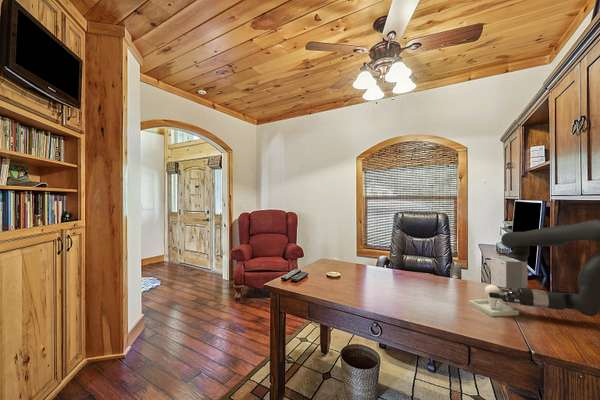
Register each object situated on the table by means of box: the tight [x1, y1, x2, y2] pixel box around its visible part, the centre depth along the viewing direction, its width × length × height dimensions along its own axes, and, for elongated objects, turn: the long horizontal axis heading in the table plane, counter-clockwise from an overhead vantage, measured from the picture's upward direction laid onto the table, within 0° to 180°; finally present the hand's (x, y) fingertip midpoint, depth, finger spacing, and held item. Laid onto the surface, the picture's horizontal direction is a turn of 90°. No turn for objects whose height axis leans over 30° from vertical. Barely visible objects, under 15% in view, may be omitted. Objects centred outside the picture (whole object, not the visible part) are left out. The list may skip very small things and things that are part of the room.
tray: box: [468, 298, 520, 318], centre depth 120 cm, size 13×13×2 cm
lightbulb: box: [484, 284, 501, 309], centre depth 120 cm, size 6×6×11 cm
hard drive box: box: [490, 254, 522, 291], centre depth 138 cm, size 16×8×20 cm, turn 168°
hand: (487, 291), depth 121 cm, fingers open, 8 cm apart
